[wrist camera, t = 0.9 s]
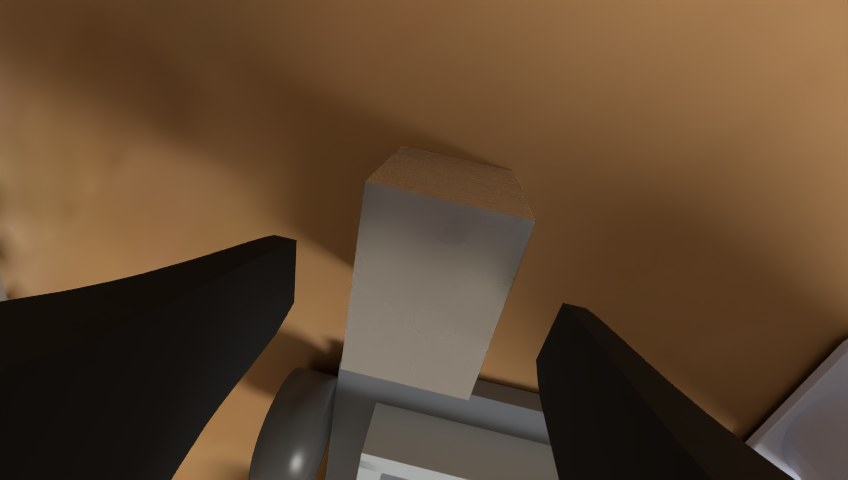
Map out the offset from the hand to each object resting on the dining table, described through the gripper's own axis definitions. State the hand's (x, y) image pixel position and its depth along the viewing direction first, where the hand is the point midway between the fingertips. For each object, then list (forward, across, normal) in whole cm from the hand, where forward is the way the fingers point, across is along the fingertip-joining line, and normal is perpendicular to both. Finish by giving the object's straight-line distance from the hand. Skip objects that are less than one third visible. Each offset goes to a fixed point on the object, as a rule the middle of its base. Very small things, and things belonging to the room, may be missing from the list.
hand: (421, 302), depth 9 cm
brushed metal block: (+5, 0, 0) cm, 5 cm away
